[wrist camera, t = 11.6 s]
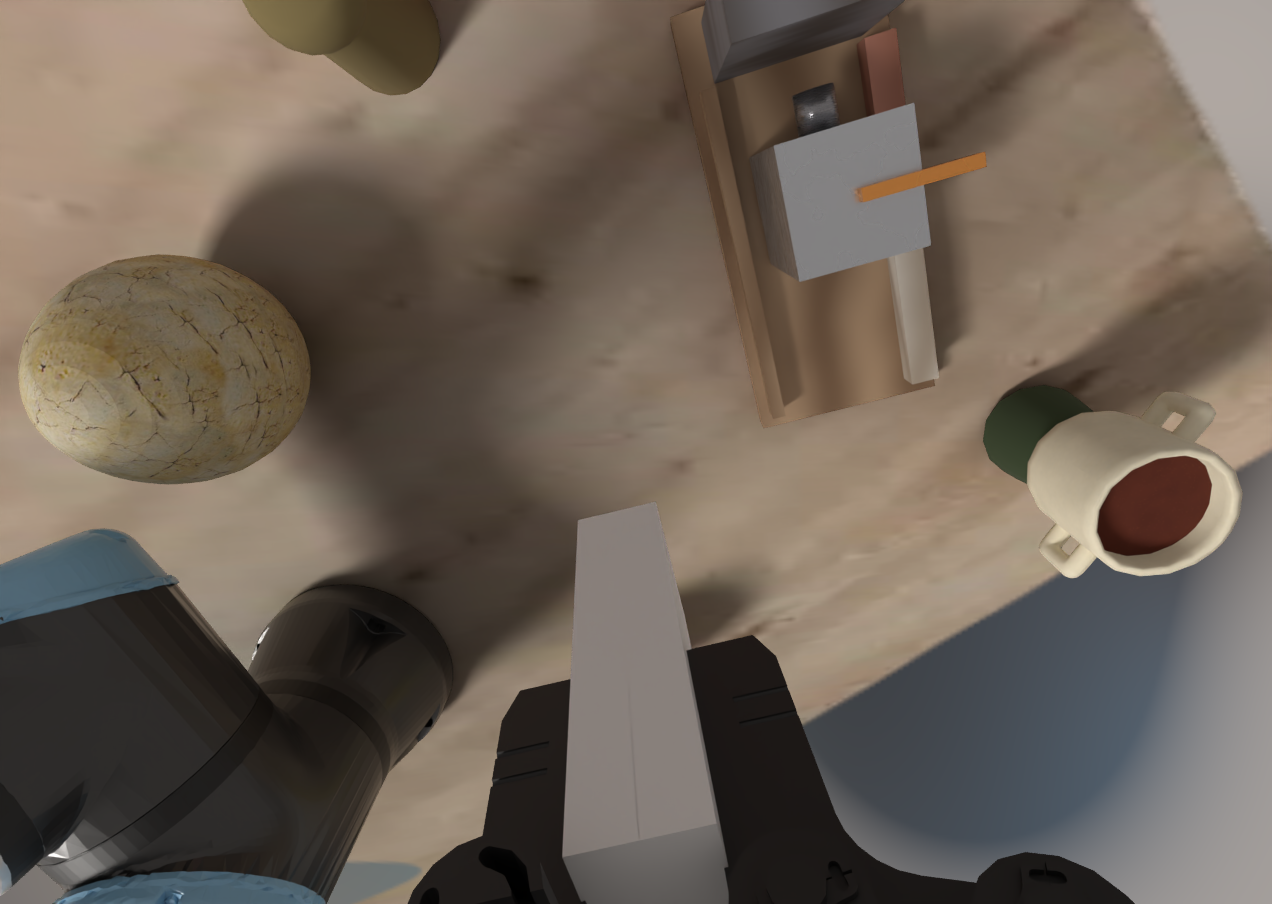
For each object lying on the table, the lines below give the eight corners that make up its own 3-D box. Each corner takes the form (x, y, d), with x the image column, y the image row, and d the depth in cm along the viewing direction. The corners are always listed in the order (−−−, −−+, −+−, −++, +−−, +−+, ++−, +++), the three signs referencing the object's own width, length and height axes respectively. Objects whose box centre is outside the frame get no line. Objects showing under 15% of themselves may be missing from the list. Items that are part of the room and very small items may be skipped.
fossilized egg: (120, 297, 43) (-142, 345, 29) (274, 211, 41) (69, 218, 27) (238, 461, 47) (57, 571, 33) (384, 391, 45) (257, 478, 31)
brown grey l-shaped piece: (760, 420, 44) (791, 492, 34) (670, 24, 36) (672, -50, 25) (926, 379, 43) (1013, 440, 32) (870, -45, 35) (963, -153, 24)
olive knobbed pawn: (439, -24, 36) (348, -114, 26) (441, 100, 38) (358, 63, 28) (330, -34, 36) (195, -127, 26) (338, 90, 38) (218, 50, 28)
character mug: (1020, 514, 46) (1147, 626, 34) (934, 473, 45) (1032, 573, 33) (1125, 378, 42) (1311, 450, 30) (1034, 331, 41) (1186, 385, 29)
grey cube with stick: (770, 263, 39) (801, 283, 30) (741, 119, 36) (766, 93, 27) (914, 223, 38) (992, 231, 29) (895, 71, 35) (974, 27, 26)
